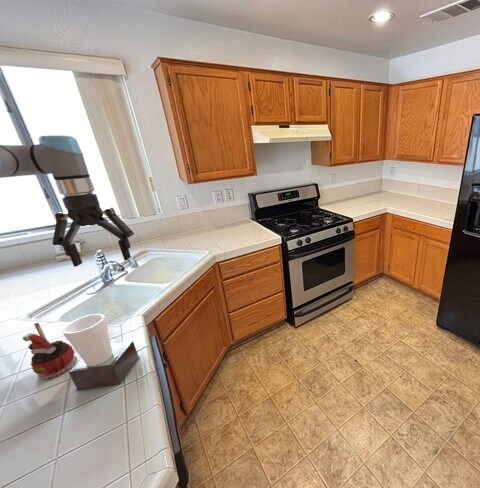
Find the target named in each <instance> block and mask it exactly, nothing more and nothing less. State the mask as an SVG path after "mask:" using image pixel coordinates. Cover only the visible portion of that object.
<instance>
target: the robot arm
mask: <svg viewBox="0 0 480 488" xmlns="http://www.w3.org/2000/svg"><path fill="white" fill-rule="evenodd" d="M38 143H39V144H19V145H18V144H16V145H15V144H14V145H13V144H12V145H8V144H0V179H2V178H3V179H4V178H14V177H25V176H37V175H50V174H51V175H52V178H53V180H54V182H55V185H56V187H57V191H58V193H59V195H63V196H62V197H61V200H62V203H63V205H64V208H65V209H66V210H67V212H65V211H60V212H57V213H55V214H54V217H55V221H56V222H55V227H54V233H53V237H52V245H53V246H61V247H62V248H63V251H64V253H65V255H66V256H67V257H69V258H70V261H71V262H72V265H73V267H74V268H75V267H76V268H77V267H78V266H81V265H82V264H83V261H82V258H81V256H80V255H81V254H80V253H79V251H78V248H77V246H76V243H73V240H74V238H75V237H76V235H77V234H78V232H79V230H80V228H81V227H86V226H91V227H92V226H98V227H101V228H103V229H104V230H106V231H107V232H109V233H110V234H112V235H113V236H114V237H116V238H117V239H119V240H117V242H118V243H117V244H118V246H119V248H120V251H121V254H122V257H123V260H124V261H128V260H130V259H131V258H132V255H131V252H130V250H129V249H131V243H130V239H129V238H130V237H132V236H134V235H135V233H134V231H133V230H132V229H131V228H130V227H129V226H128V225H127V223H125V222H124V220H122V219H121V218H120V216H119V215H118V214H117V213H116V211H115V208H113V207H108V208H104V209H102V208H101V206H100V201H99V199H98V195H97V193H95V187H94V184H93V181H92V179H91V178H92V177H91V175H90V173H89V170H88V166H87V164H86V160H85V157H84V154H83V152H82V149H81V147H80V145H79V143H78V140H77V139H76V138H75V137H73V136H70V135H41V136H39V137H38ZM103 216H105V217H107V218H108V219H109V220H110V221H111V222H109V221H108V219H106V218H105V217H103ZM69 219H70V220H72V221H71V223H70V225H69V229H68V230H67V225H68V220H69ZM66 230H67V232H66Z"/></svg>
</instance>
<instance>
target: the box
mask: <svg viewBox="0 0 480 488" xmlns="http://www.w3.org/2000/svg"><path fill="white" fill-rule="evenodd" d="M111 348H112V356H111V357H110V358H109V359H108V360H106V361H105V362H103V363H101V364H98V365H95V366H87V364H86V363H85V362H84V361H83V359H82V358H81V359H80V360H79V361H78V362H76V364H74V365H73V366H72V367H71V368H70V369H69V371H68V374H69V376H70V378H71V380H72V382H73V385H74V386H75V389H76V391H81V390H87V389H94V388H101V387H106V386H107V387H108V386H114V385H121V384H122V382H123V381H124V380H125V378H126V377H127V375H128V374H129V372H130V371H131V369H132V368H133V367H134V366H135V364H136V363H137V361H138V360H139V358H140V356H139V353H138V350H137V349H136V345H135V343H134V341H133V340H131V341H123V342H116V343H111Z"/></svg>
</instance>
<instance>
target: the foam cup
mask: <svg viewBox="0 0 480 488" xmlns="http://www.w3.org/2000/svg"><path fill="white" fill-rule="evenodd" d="M61 331H62V333H63V335H64V338H65V339H66V341H68V342H69V344H70V345H71V346H72V348H73V350H75V351H76V353H77V354H78V355H79V357H80V358H81V359H83V361H84V362H85V363H86V364H87V366H95V365H98V364H101V363H103V362H105V361H106V360H108V359H109V358H110V357H111V356H112V348H111V344H112V343H111V339H110V334H109V333H110V332H109V328H108V320H107V318H106V316H105V315H104V314H103V313H91V314H87V315H85V316H81V317H78V318H76V319H74V320H72V321H70V322H69V323H68V324H66V325H65V326H64V327H63V329H62V330H61Z"/></svg>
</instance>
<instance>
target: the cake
mask: <svg viewBox="0 0 480 488" xmlns="http://www.w3.org/2000/svg"><path fill="white" fill-rule="evenodd" d="M33 325H34V327H35V329H36V332H37V333H38V334H36V333H33V332H29V333H26V334H25V335H24V336H22V340H23V341H24V342H29V341H30V342H31V343H29V346H28V349H29V350H30V353H31V355H32V356H31V359H30V360H31V362H30V365H31V367H32V368H31V369H32V371H33V373H35V374H37V375H36V377H37V378H39V380H44V379H45V380H46V379H49V378H53V377H56V376H59V375H60V374H63V373H64V372H65V371H68V370H71V369H72V368H73V367H74V366H75V365H76V364H77V361H78V357H77V356H75V351H74V348H73V346H72V345H71V344H70V343H67V342H66V341H63V340H55V341H52V342H50V341H48V339H47V337H46V335H45V333H44V331H43V329H42V327H41V325H40V323H39V322H35V323H33Z"/></svg>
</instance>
